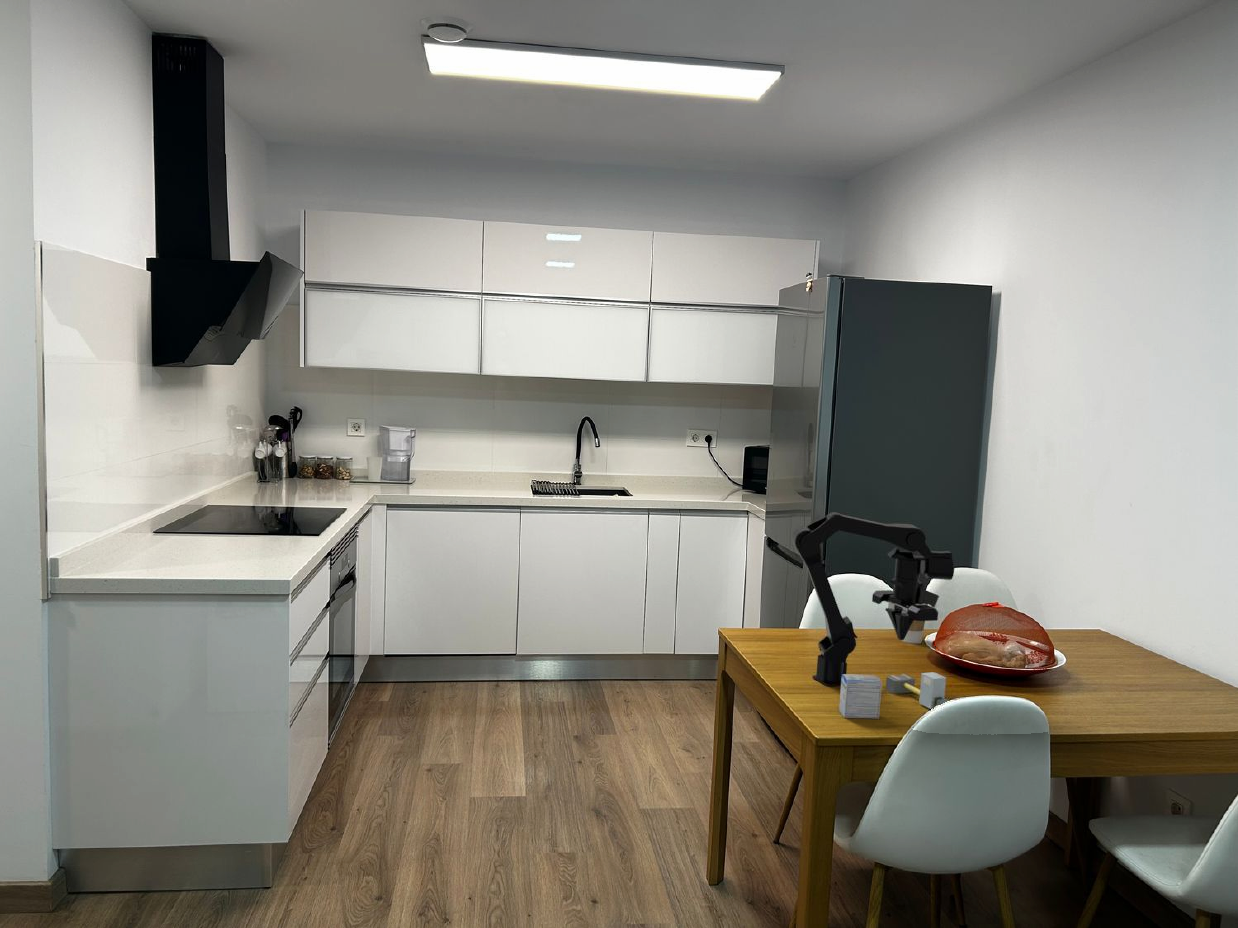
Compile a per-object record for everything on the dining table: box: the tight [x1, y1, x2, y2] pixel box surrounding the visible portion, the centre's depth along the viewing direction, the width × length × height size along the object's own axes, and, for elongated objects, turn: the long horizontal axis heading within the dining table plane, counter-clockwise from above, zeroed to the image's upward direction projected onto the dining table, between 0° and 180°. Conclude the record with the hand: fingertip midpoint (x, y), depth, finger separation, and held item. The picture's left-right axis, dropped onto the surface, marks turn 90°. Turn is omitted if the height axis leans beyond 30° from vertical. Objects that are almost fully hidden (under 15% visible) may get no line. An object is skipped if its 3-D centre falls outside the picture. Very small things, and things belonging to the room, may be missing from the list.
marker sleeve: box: [918, 671, 947, 710], centre depth 212 cm, size 4×4×7 cm
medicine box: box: [838, 673, 883, 720], centre depth 204 cm, size 8×4×9 cm, turn 92°
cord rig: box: [885, 673, 951, 705], centre depth 215 cm, size 6×19×4 cm, turn 22°
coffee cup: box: [900, 603, 929, 644], centre depth 266 cm, size 8×8×15 cm
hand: (901, 639), depth 225 cm, fingers closed
